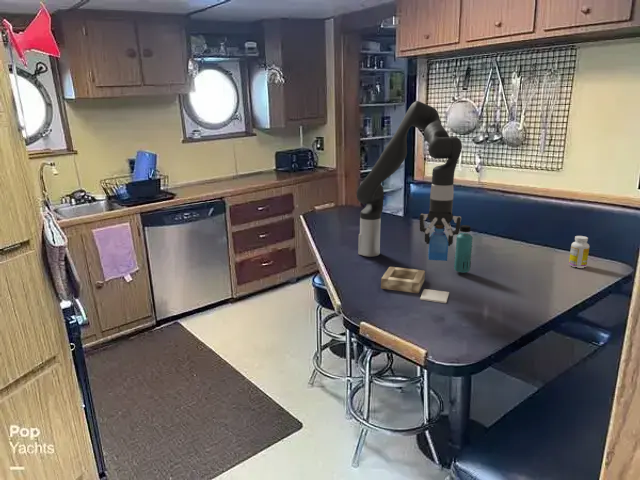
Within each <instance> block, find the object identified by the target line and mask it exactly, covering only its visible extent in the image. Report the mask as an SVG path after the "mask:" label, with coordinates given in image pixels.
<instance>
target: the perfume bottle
mask: <svg viewBox="0 0 640 480" xmlns="http://www.w3.org/2000/svg"><path fill="white" fill-rule="evenodd" d="M433 227H434V228H433V230H434V231H433V232H432V233H431V234H430V238H429V244H428V252H427V253H428V255H427V257H428V260H429V261H442V262H443V261H444V262H446V261H448V257H449V256H448V255H449V254H448V252H449V246H448V237H447V234H446V232H445V231H446V228H445V227H443V225H436V227H435V226H433Z"/></svg>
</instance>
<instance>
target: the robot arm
mask: <svg viewBox="0 0 640 480" xmlns="http://www.w3.org/2000/svg"><path fill="white" fill-rule="evenodd" d="M411 127H415V128H416V129H418V130H421V131H424V132H423V133H424V138H425V139H426V141H427V143H428V155H429V156H430V157H431V158H432V159H434V160H435V159H436V160H437V159H438V160H446V162H445V163H443V164H441V165H437V166H434V167H433V168H432V172H431V173H432V175H431V187H430V194H429V195H430V196H429V210H428V211H429V212H428V213H420V215H419V232H422V233H424V242H425V243H426V245H429V238H430V236H431V234H430V231H431V230H432V228H433V227H436V225H443V227H444V228H445V231H447V232H448V237H447V239H448V247H451V245H453V242H454V236H457V235H458V234H460V226H461V224H462V223H461V221H462V216H460V215H458V216H456V215H454V214H453V207H454V206H453V205H454V195H455V194H454V181H455V172H456V171H455V170H456V168H457V164H458V161H459V158H460V156H461V153H462V150H463V149H462V148H463V144H462V141H461V139H460V138H459V137H457V136H449V133H448V131H447V130H446V129H445V128H444V127H443V125H442V122H441V119H440V115H439V113H438V111H437V109H436V108H434V107H433V106H431V105H428V104H427V103H424V102H421V101H419V100H416V101H414V102H413V103H411V105H410V106H409V108H408V109H407V111H406V112H405V114H404V117H403V118H402V120H401V121H400V124H399V125H398V128H397V129H396V131H395V133H394V134H393V136H392V138H391V139H390V141H388V143H387V145H386V146H385V147H384V149H383V151H382V152H381V154H380V156H379V158H378V160H377V161H376V162H375V164H374V166H373V167H372V168H371V170H370V172H369V173H368V174H367V176H366V177H365V178H364V179H363V180H362V181H361V183H360V185H359V186H357V189H356V199H357V201H358V202H359V203H361V204H363V205H365V207H364V208H363V209H362V210H361V211H360V212H359V217H360V218H359V234H358V246H357V248H358V251H357V252H358V255H360V256H364V257H368V258H369V257H370V258H371V257H377V256H379V255H380V250H381V247H380V246H381V220H382V219H381V217H382V216H381V215H382V213H383V210H384V199H385V198H384V195H385V192H384V187H383V185H382V184H383V182H384V181H387V179H388V178H390V176H392V175H393V174H394V173H396V172H397V171H398V170H399V168H400V167H401V166H402V164H403V163H404V161H405V160H406V159H407V156H408V155H407V154H408V146H407V145H408V142H407V140H408V138H407V137H408V132H409V130H410V128H411ZM427 218H428V220H429V222H430V223H429V225H428V226H427V228H426V227H425V221H426V220H427ZM452 221H454V222H453V223H455V230H453V228H452V226H451V222H452Z"/></svg>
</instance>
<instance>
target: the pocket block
mask: <svg viewBox="0 0 640 480" xmlns="http://www.w3.org/2000/svg"><path fill="white" fill-rule="evenodd" d="M382 275H383V276H382V277H381V278H380V279H381V280H380V289H383V290H393V291H398V292H405V293H413V294H419V293H420V291H421V289H422V286H423V284H424V283H425V280H426V279H425V275H426V271H425V270H423V269H422V270H421V269H416V268H415V269H414V268H406V267H397V266H396V267H395V266H389V267H388V268H387V270H386V271H385V272H384V273H383V274H382Z"/></svg>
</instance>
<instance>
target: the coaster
mask: <svg viewBox="0 0 640 480" xmlns="http://www.w3.org/2000/svg"><path fill="white" fill-rule="evenodd" d="M449 295H450V292H449V291H443V290H435V289H428V288H427V289H426V288H424V289H423V291H422V293H421V296H420V297H419V300H421V301H425V302H426V301H428V302H435V303H442V304H447V302H448V298H449Z"/></svg>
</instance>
